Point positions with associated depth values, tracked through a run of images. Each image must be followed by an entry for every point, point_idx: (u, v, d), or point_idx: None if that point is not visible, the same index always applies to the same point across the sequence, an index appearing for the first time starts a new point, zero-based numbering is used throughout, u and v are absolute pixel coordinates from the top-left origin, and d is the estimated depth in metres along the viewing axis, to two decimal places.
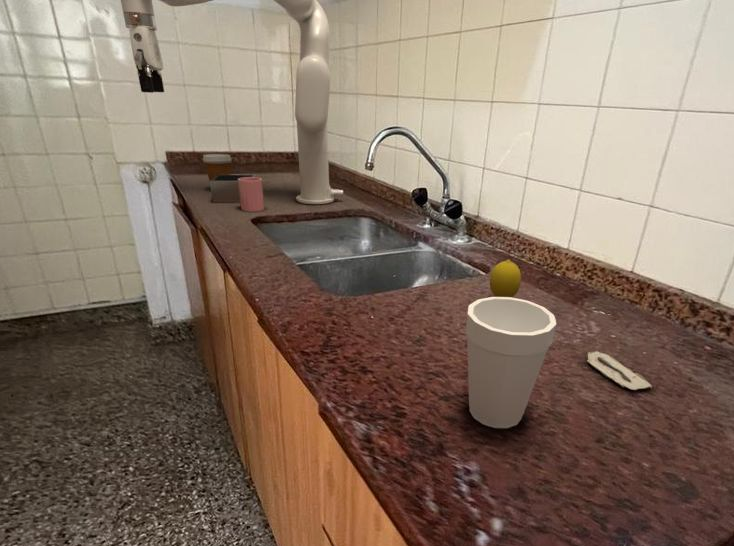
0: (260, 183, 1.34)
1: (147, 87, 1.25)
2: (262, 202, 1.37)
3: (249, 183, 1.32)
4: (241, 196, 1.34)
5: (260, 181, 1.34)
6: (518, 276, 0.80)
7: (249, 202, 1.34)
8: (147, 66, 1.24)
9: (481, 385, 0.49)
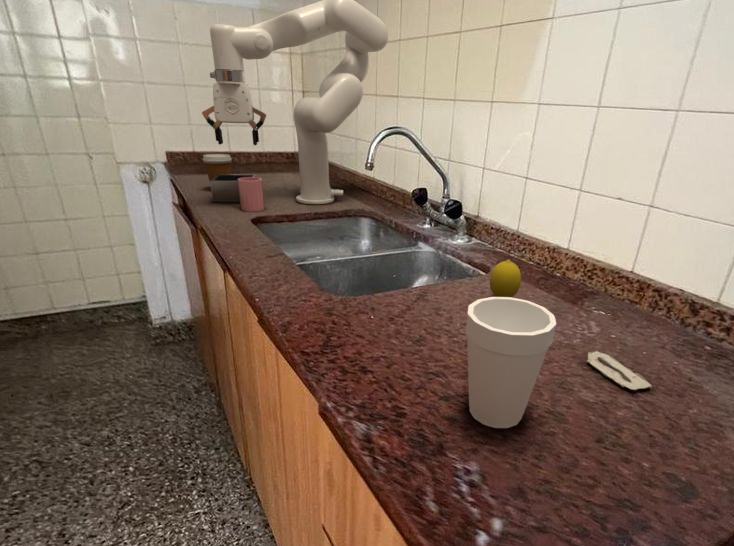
0: (260, 183, 1.34)
1: (216, 139, 1.29)
2: (262, 202, 1.37)
3: (249, 183, 1.32)
4: (241, 196, 1.34)
5: (260, 181, 1.34)
6: (518, 276, 0.80)
7: (249, 202, 1.34)
8: None
9: (481, 385, 0.49)
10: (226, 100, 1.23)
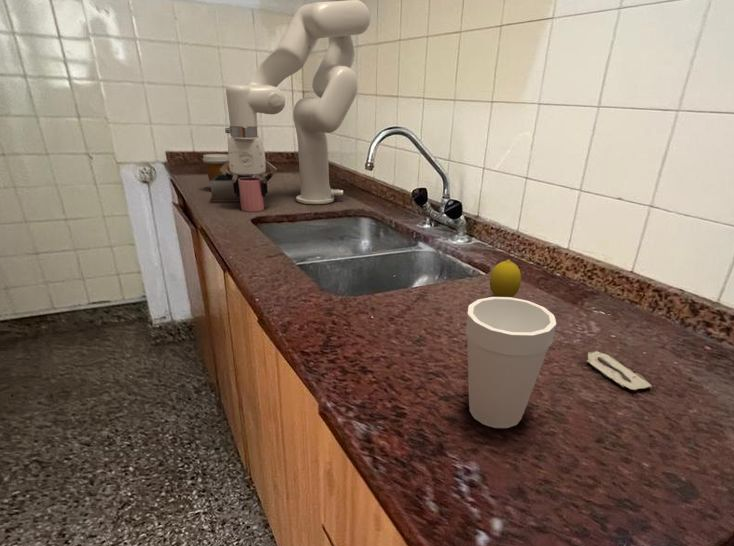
0: (260, 183, 1.34)
1: (234, 191, 1.35)
2: (262, 202, 1.37)
3: (249, 183, 1.32)
4: (241, 196, 1.34)
5: (260, 181, 1.34)
6: (518, 276, 0.80)
7: (249, 202, 1.34)
8: (234, 173, 1.32)
9: (481, 385, 0.49)
10: (241, 154, 1.29)
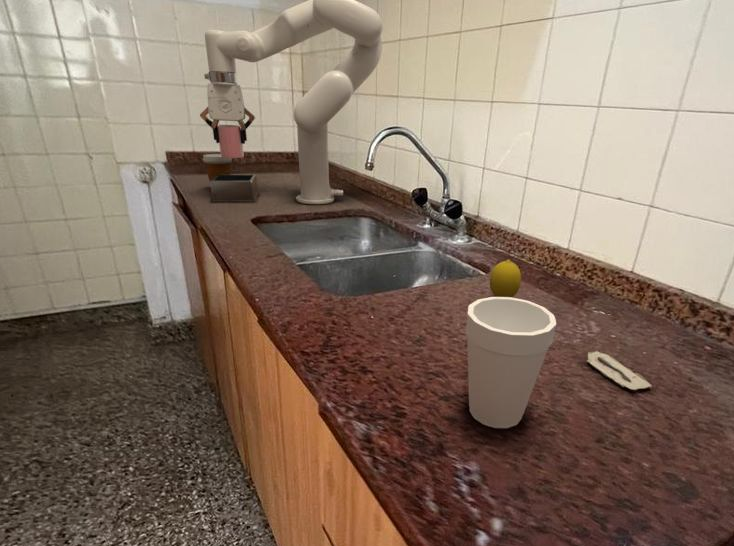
0: (239, 130, 1.39)
1: (214, 138, 1.40)
2: (241, 149, 1.42)
3: (228, 129, 1.36)
4: (220, 142, 1.39)
5: (239, 128, 1.39)
6: (518, 276, 0.80)
7: (228, 148, 1.39)
8: None
9: (481, 385, 0.49)
10: (219, 99, 1.33)
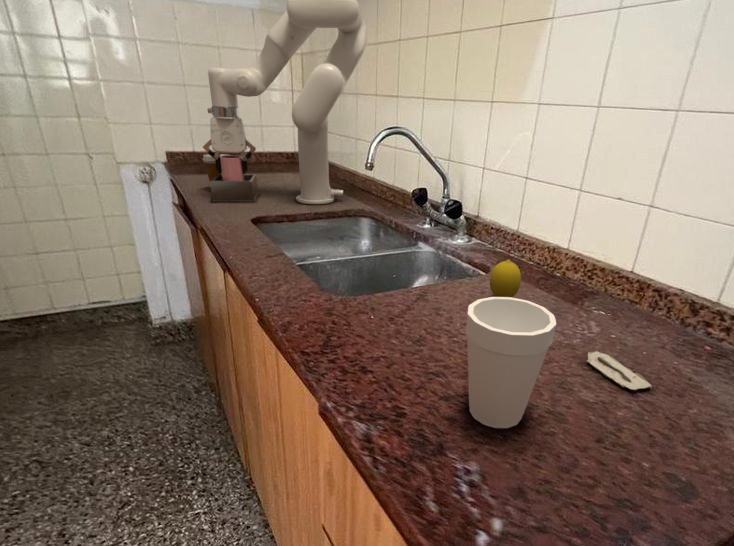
0: (240, 161, 1.44)
1: None
2: (242, 179, 1.47)
3: (230, 160, 1.42)
4: (222, 173, 1.44)
5: (240, 159, 1.44)
6: (518, 276, 0.80)
7: (230, 179, 1.44)
8: (216, 151, 1.42)
9: (481, 385, 0.49)
10: (222, 133, 1.39)
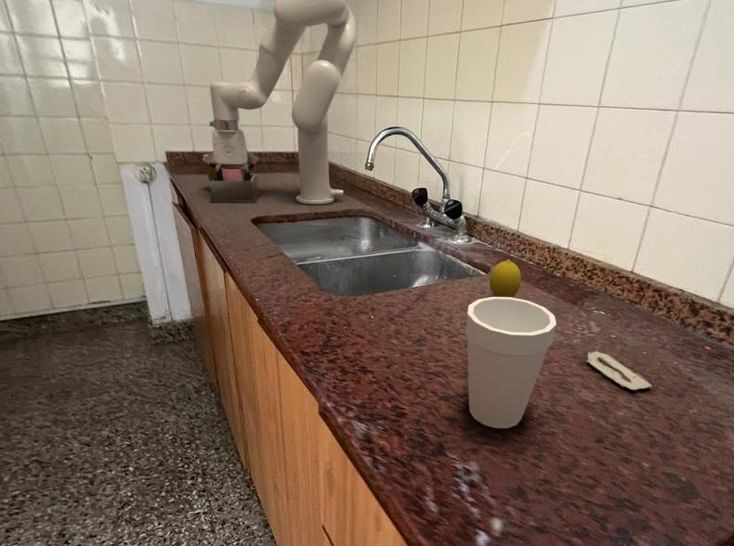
0: (242, 172, 1.46)
1: None
2: None
3: (231, 171, 1.44)
4: None
5: (242, 170, 1.46)
6: (518, 276, 0.80)
7: None
8: None
9: (481, 385, 0.49)
10: (224, 145, 1.40)
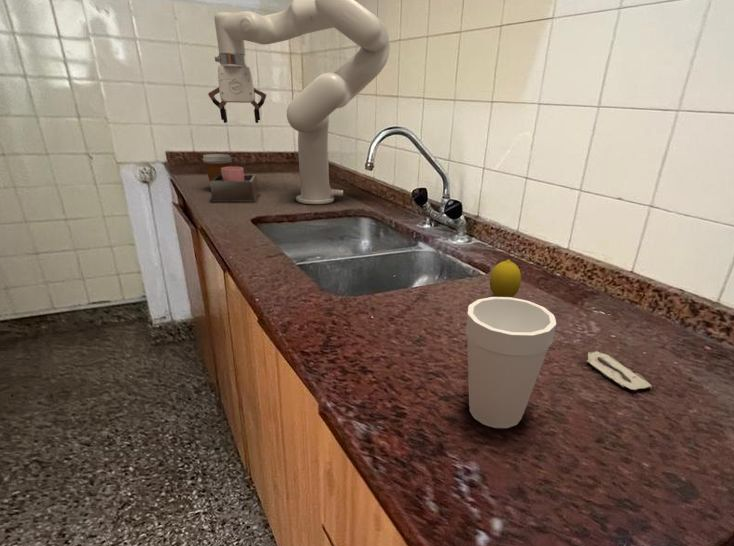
0: (242, 172, 1.46)
1: (221, 118, 1.42)
2: None
3: (231, 171, 1.44)
4: None
5: (242, 170, 1.46)
6: (518, 276, 0.80)
7: None
8: (222, 100, 1.39)
9: (481, 385, 0.49)
10: (230, 81, 1.36)
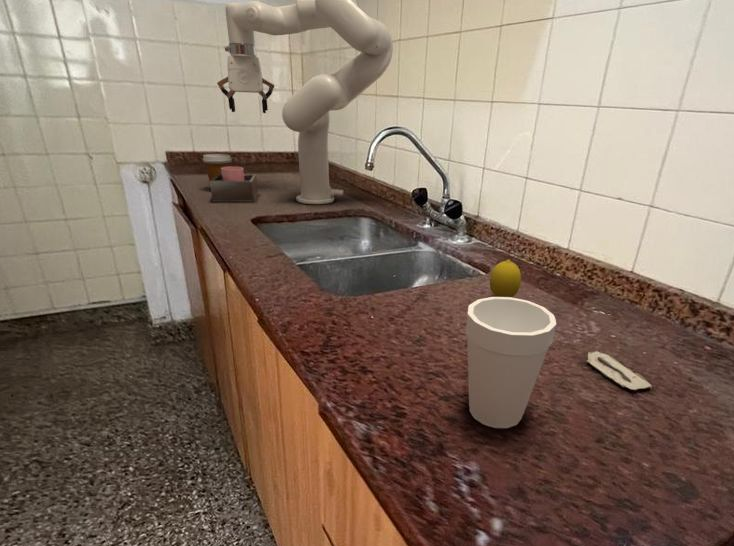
0: (242, 172, 1.46)
1: (229, 107, 1.44)
2: None
3: (231, 171, 1.44)
4: None
5: (242, 170, 1.46)
6: (518, 276, 0.80)
7: None
8: None
9: (481, 385, 0.49)
10: (239, 71, 1.38)
